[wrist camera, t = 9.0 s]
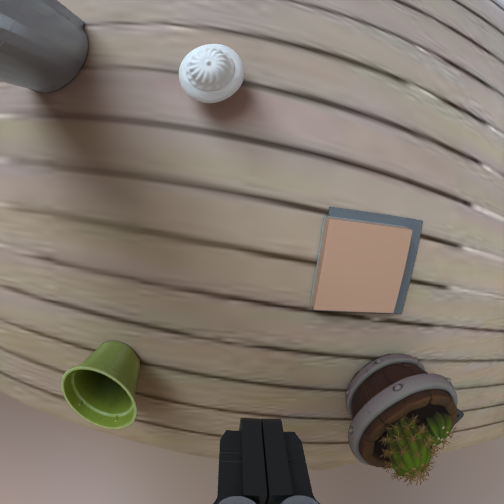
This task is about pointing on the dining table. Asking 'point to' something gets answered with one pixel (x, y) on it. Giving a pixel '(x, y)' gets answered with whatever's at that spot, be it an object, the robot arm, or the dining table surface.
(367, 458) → the flowerpot
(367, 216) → the mat
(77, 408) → the plant pot
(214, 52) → the white citrus juicer
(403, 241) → the tile
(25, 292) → the dining table surface
